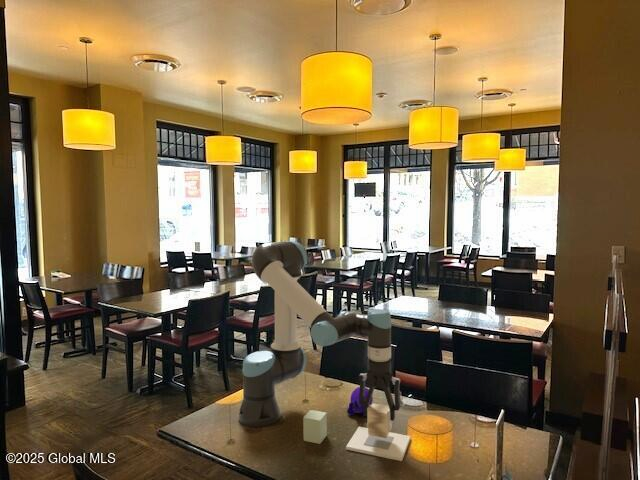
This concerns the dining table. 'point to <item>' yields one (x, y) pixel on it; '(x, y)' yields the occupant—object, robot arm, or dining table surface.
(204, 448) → the dining table surface
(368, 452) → the base plate
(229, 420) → the dining table surface
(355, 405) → the toy
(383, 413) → the block maple
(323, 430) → the block sage
